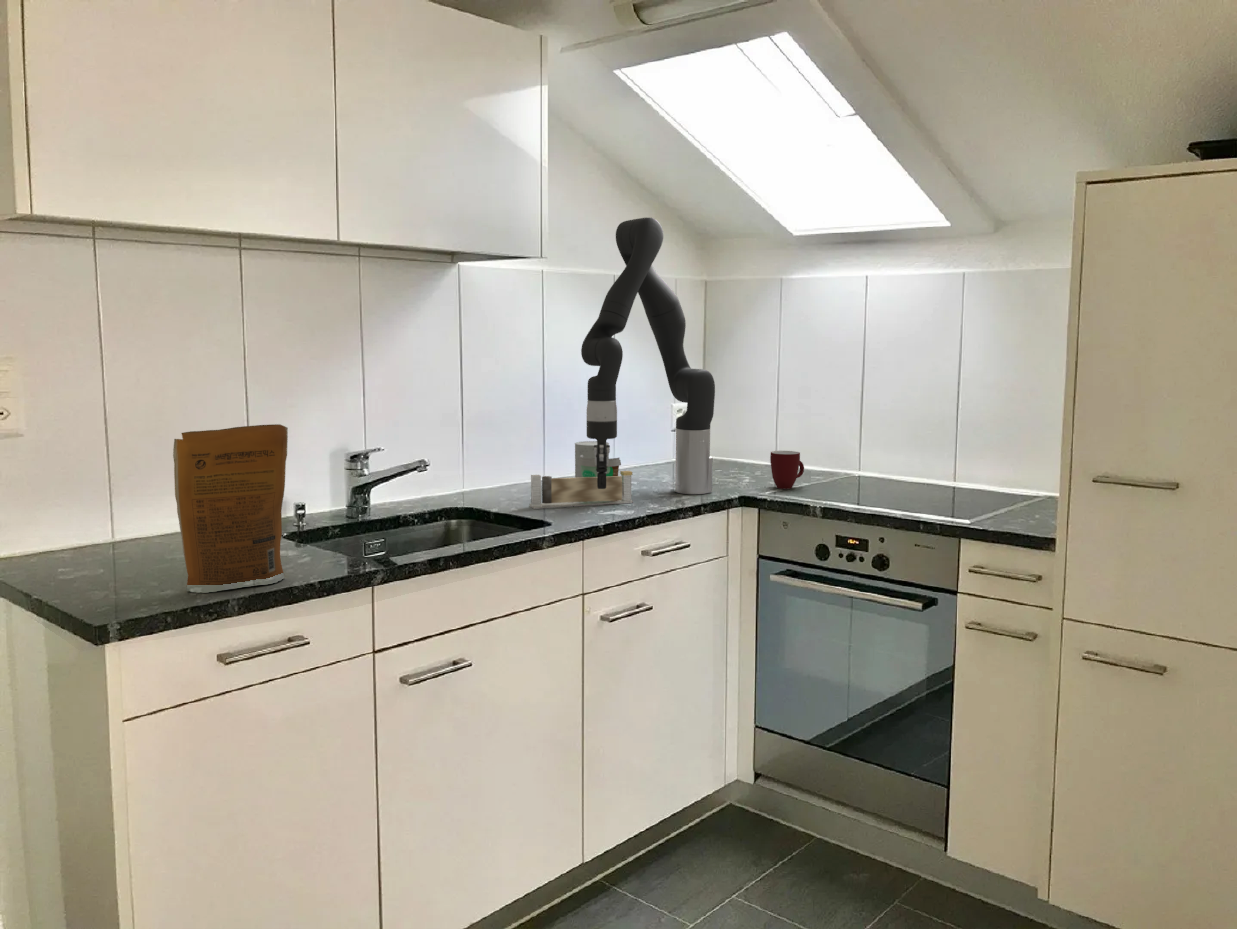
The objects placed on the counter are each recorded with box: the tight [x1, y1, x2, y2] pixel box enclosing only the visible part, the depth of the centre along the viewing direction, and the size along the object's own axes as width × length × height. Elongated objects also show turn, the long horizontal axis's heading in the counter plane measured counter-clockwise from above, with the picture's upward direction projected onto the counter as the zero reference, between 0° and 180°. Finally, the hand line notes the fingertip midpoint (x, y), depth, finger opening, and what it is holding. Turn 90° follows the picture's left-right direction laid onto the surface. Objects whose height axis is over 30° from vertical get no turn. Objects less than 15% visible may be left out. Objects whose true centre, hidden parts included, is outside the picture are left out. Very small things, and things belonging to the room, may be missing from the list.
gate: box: [541, 475, 622, 504], centre depth 250 cm, size 20×2×6 cm, turn 103°
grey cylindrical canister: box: [574, 440, 610, 478], centre depth 278 cm, size 10×10×12 cm
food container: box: [578, 455, 622, 477], centre depth 266 cm, size 12×6×10 cm, turn 62°
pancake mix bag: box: [172, 423, 289, 586], centre depth 171 cm, size 7×19×28 cm, turn 123°
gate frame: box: [528, 470, 634, 510], centre depth 251 cm, size 26×4×8 cm, turn 110°
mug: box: [769, 450, 805, 490], centre depth 277 cm, size 11×8×10 cm
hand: (601, 488), depth 248 cm, fingers closed
